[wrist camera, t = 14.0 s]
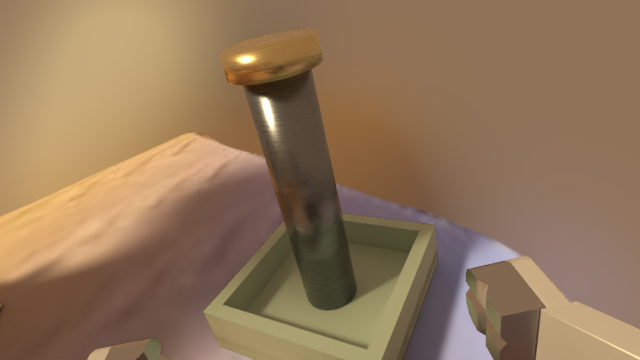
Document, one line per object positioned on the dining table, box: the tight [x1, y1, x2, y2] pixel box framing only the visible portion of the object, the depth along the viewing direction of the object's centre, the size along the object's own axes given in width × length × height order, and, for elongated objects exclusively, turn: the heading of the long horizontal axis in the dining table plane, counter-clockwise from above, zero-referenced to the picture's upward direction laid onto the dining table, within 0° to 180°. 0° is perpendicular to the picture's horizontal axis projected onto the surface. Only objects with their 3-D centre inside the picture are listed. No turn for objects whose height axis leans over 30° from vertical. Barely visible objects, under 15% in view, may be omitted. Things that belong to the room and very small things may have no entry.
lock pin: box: [219, 29, 357, 311], centre depth 20 cm, size 4×4×15 cm
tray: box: [203, 213, 438, 360], centre depth 24 cm, size 11×11×3 cm
